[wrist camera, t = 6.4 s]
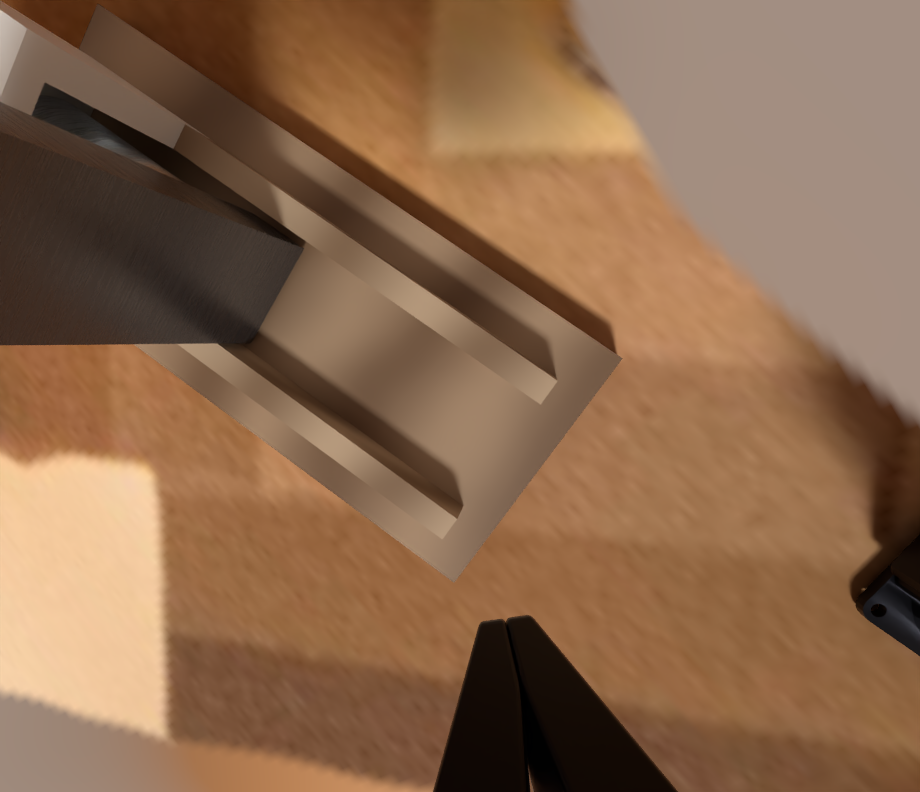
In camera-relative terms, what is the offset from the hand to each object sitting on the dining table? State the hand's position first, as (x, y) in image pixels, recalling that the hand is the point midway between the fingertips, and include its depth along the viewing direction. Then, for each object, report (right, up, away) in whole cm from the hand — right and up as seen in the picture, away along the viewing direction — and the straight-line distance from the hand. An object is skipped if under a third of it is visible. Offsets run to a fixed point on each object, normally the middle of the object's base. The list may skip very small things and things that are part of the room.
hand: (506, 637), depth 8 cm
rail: (-8, +8, +12) cm, 17 cm away
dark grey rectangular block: (-12, +11, +11) cm, 20 cm away
